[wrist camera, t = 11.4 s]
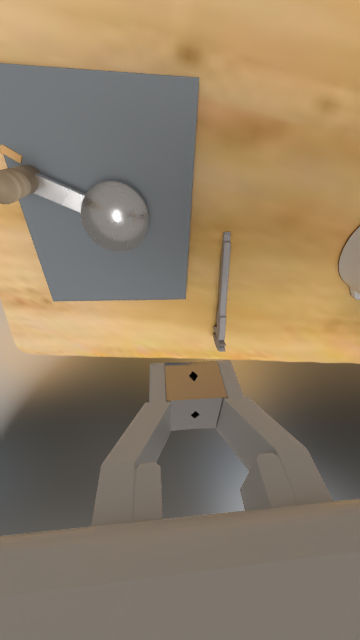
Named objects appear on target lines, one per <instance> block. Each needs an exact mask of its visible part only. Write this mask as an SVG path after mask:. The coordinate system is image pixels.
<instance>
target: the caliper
mask: <svg viewBox="0 0 360 640" xmlns="http://www.w3.org/2000/svg"><path fill="white" fill-rule="evenodd" d="M230 235H231V234H230V232H224V233H223V242H222V252H221V270H220V287H219V304H218V312H217V326H214V327H213V329H214V331H215V333H213V338H214V341H215V345H216V347H217V349H218V351H220V352H222V351H225V347H224V346H226V344H225V343H224V339H225V326H226V302H227V289H228V276H229V262H230V248H231V242H230Z"/></svg>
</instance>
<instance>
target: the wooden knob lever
mask: <svg viewBox="0 0 360 640" xmlns="http://www.w3.org/2000/svg"><path fill="white" fill-rule="evenodd" d="M32 193H34V194H37V195H39V196H42V197H44V198H46V199H49V200H51V201H54V202H56V203H58V204H61V205H63V206H66V207H68V208H70V209H73V210H75V211H78V212H80V213H81V220H82V224H83V226H84V229H85V231H86V232H87V234H88V235H89V237H90V238H91V239H92V240H93V241H94V242H95V243H96V244H98V245H99V246H101V247H103V248H105V249H107V250H110V251H115V252H124V251H128V250H131V249H133V248H135V247H137V246H138V245H139V244H140V243H141V242H142V241H143V239H144V238H145V236H146V234H147V230H148V225H149V212H148V208H147V205H146V202H145V200H144V198H143V197H142V195H141V194H140V193H139V192H138V191H137V190H136V189H135V188H134V187H133V186H131V185H129V184H128V183H126V182H123V181H120V180H105V181H102V182H100V183H98V184H96V185H95V186H94V187H93V188H91V189H90V190H89V191H88V192H87V193H83V192H81V191H79V190H77V189H74V188H72V187H70V186H68V185H65V184H63V183H61V182H59V181H56V180H54V179H52V178H50V177H47V176H45V175H43V174H41V173H40V172H39V171H38V170H37V169H36V168H35V167H33V166H31V165H22V166H17V167H13V168H8V169H3V170H0V203H1V204H10V203H12V202H15V201H17V200H19V199H21V198H23V197H25V196H28V195H30V194H32Z"/></svg>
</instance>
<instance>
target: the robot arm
mask: <svg viewBox="0 0 360 640" xmlns="http://www.w3.org/2000/svg"><path fill="white" fill-rule="evenodd" d="M339 273H340V276H341V278H342V280H343V281H344V282H345V283H346V284H347V285H348V286H349V287H350V293H351V296H352V297H353V298H355V299H356V300H360V226H359V228H358V229H357V230H356V231H355V232H354V233H353V234H352V236H351V237H350V239H349V240H348V242H347V243H346V245H345V247H344V249H343V251H342V253H341V256H340V260H339ZM193 428H194V429H196V428H216V429H217V431H218V432H219V433H220V434H221V436H222V437H223V438H224V440H225V441H226V442H227V443H228V445H229V446H230V447H231V448H232V450H233V451H234V452H235V454H236V455H237V456H238V457H239V459H240V460H241V461H242V463H243V464H244V465H245V466H246V468H247V469H248V470H249V474H248V476H247V477H246V479H245V481H244V483H243V485H242V487H241V489H240V491H241V496H242V500H243V504H244V508H245V511H237V512H228V513H219V514H208V515H199V516H190V517H179V518H170V519H162V498H161V468H160V466H159V465H158V464H156V461H157V459H158V457H159V455H160V453H161V451H162V449H163V447H164V445H165V442H166V440H167V438H168V436H169V434H170V431H173V430H184V429H193ZM0 640H360V499H353V500H343V501H332V499H331V497H330V494H329V492H328V490H327V488H326V486H325V484H324V482H323V480H322V478H321V476H320V474H319V472H318V470H317V468H316V466H315V465H314V462H313V460H312V458H311V456H310V454H309V452H308V450H307V449H306V448H305V447H304V446H303V445H302V444H301V443H300V442H298V441H297V440H296V439H295V438H294V437H293V436H292V435H290V434H289V433H288V432H287V431H286V430H285V429H284V428H283V427H281V426H280V425H279V424H278V423H277V422H276V421H274V420H273V419H272V418H271V417H270V416H269V415H268V414H266V413H265V412H264V411H263V410H262V409H261V408H260V407H259V406H257V405H256V404H255V403H254V402H253V401H252V400H251V399H249V398H248V397H243V394H242V391H241V388H240V385H239V383H238V380H237V377H236V374H235V371H234V369H233V366H232V363H231V361H230V360H223V361H202V362H201V361H200V362H188V363H187V362H186V363H151V364H150V401H149V403H145V404H144V405H143V407H142V408H141V410H140V411H139V413H138V414H137V415H136V417H135V418H134V420H133V421H132V422H131V424H130V425H129V427H128V428H127V430H126V431H125V432H124V434H123V435H122V437H121V438H120V440H119V441H118V442H117V444H116V445H115V447H114V448H113V449H112V451H111V452H110V454H109V455H108V456H107V458H106V460H105V461H104V462H103V464H102V465H101V471H100V477H99V483H98V489H97V496H96V502H95V508H94V515H93V520H92V526H91V527H84V528H74V529H64V530H55V531H46V532H35V533H26V534H17V535H6V536H0Z"/></svg>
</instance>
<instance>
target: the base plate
mask: <svg viewBox="0 0 360 640" xmlns="http://www.w3.org/2000/svg"><path fill="white" fill-rule="evenodd" d="M198 89H199V78H197V77H183V76H169V75H155V74H142V73H128V72H114V71H100V70H86V69H72V68H59V67H45V66H31V65H17V64H3V63H0V146H1V148H0V152H1V153H3V155H4V158H5V161H6V164H7V167H8V168H13V167H17V166H22V165H31V166H33V167H35V168H36V169H37V170H38V171H39V172H40V173H41V174H43V175H45V176H47V177H50V178H52V179H54V180H56V181H59V182H61V183H63V184H65V185H68V186H70V187H72V188H74V189H77V190H79V191H81V192H83V193H87V192H88V191H89V190H90V189H91V188H93V187H94V186H95V185H96V184H98V183H100V182H102V181H105V180H120V181H123V182H126V183H128V184H129V185H131V186H133V187H134V188H135V189H136V190H137V191H138V192H139V193H140V194H141V195H142V197H143V198H144V200H145V202H146V205H147V208H148V212H149V225H148V230H147V234H146V236H145V238H144V239H143V241H142V242H141V243H140V244H139V245H138V246H137V247H135V248H133V249H131V250H128V251H124V252H115V251H110V250H107V249H105V248H103V247H101V246H99V245H98V244H96V243H95V242H94V241H93V240H92V239H91V238H90V237H89V235H88V234H87V232H86V231H85V229H84V226H83V224H82V220H81V213H80V212H78V211H75V210H73V209H70V208H68V207H66V206H63V205H61V204H58V203H56V202H54V201H51V200H49V199H46V198H44V197H42V196H39V195H37V194H34V193H32V194H30V195H28V196H25V197H23V198H21V199H19V202H20V205H21V208H22V211H23V214H24V217H25V220H26V222H27V225H28V228H29V231H30V234H31V237H32V240H33V243H34V246H35V249H36V252H37V255H38V258H39V261H40V264H41V266H42V269H43V272H44V275H45V278H46V281H47V284H48V287H49V290H50V293H51V296H52V299H53V301H103V300H167V299H186V284H187V268H188V252H189V235H190V219H191V203H192V187H193V170H194V154H195V138H196V122H197V106H198Z"/></svg>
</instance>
